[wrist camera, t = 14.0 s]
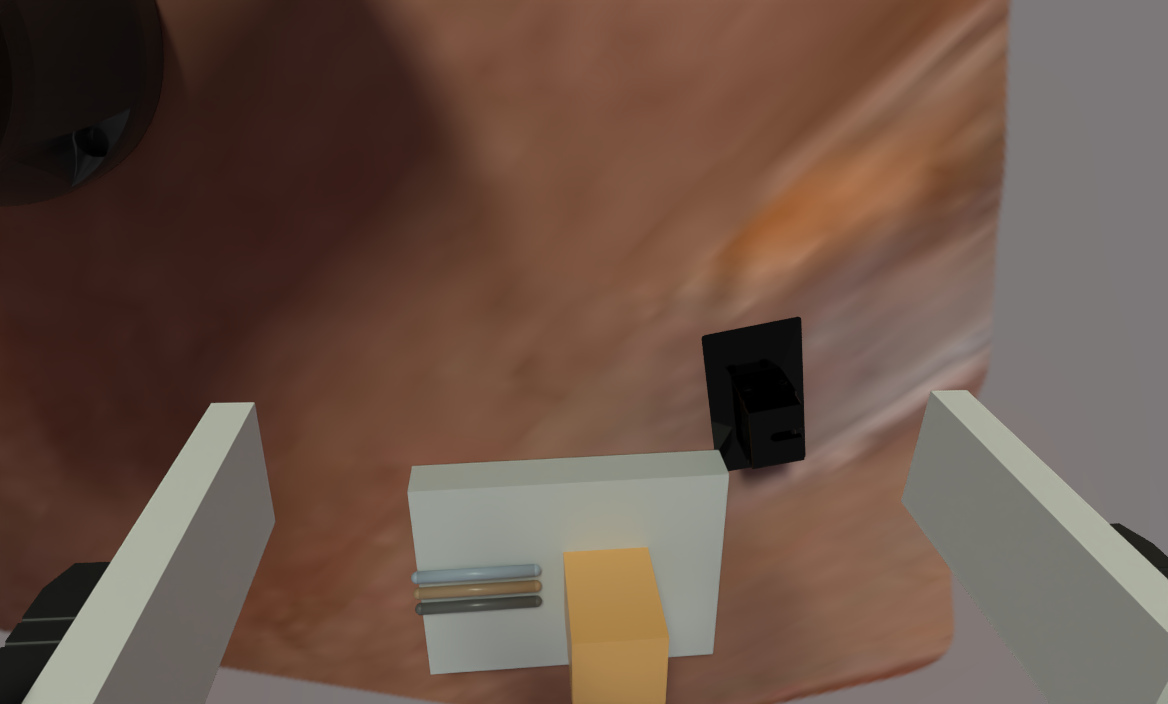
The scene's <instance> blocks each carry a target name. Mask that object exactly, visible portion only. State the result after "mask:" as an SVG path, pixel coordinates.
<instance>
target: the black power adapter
mask: <svg viewBox="0 0 1168 704" xmlns="http://www.w3.org/2000/svg"><path fill="white" fill-rule="evenodd" d="M702 346H703V355H704V364H705V372H706V381H707V390H708V399H709V407H710V416H711V425H712V433H713V442H714V450H719V452H720V454H721V457H722V459H723V461H724V464H725V466H726V468H727V471H732V470H738V469H743V468H749V467H752V469H757V468H763V467H768V466H773V465H779V464H784V463H790V462H795V461H801V460H804V457H805V426H804V394H803V362H802V329H801V318H800V317H794V318H789V319H784V320H779V321H774V322H769V323H764V324H759V325H754V326H749V327H744V328H739V329H734V330H729V331H724V332H719V333H714V334H709V335H704V336H703V337H702Z"/></svg>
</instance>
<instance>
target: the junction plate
mask: <svg viewBox="0 0 1168 704" xmlns="http://www.w3.org/2000/svg"><path fill="white" fill-rule="evenodd" d="M728 480H729V473H728V471H727V468H726V466H725V464H724V461H723V459H722V457H721V454H720V452H719V450H708V451H689V452H670V453H651V454H632V455H613V456H594V457H575V458H556V459H537V460H519V461H500V462H481V463H462V464H443V465H424V466H412V471H411V476H410V481H409V487H408V500H409V508H410V515H411V523H412V531H413V539H414V547H415V555H416V562H417V570H418V571H417V572H414V573H413V574H412V576H411V580H412V582H413V583H415V584H419V586H420V587H418V588H416V589H415V590H414V592H413V596H414V598H415V599H418V600H421V602H422V603H419V604H417V605H416V608H415V611H416V613H417V614H418V615H423V617H424V625H425V633H426V641H427V648H428V656H429V664H430V672H431V674H442V673H456V672H470V671H484V670H498V669H512V668H525V667H539V666H553V665H567V664H569V663H568V651H567V640H566V628H565V616H564V563H563V552H574V551H591V550H608V549H625V548H641V547H648V550H649V554H650V558H651V562H652V567H653V571H654V575H655V579H656V583H657V588H658V592H659V596H660V600H661V604H662V609H663V613H664V617H665V621H666V625H667V630H668V634H669V652H668V657H678V656H692V655H706V654H713V646H714V635H715V624H716V613H717V602H718V591H719V580H720V569H721V558H722V546H723V535H724V524H725V513H726V502H727V491H728Z"/></svg>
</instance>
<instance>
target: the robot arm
mask: <svg viewBox="0 0 1168 704" xmlns="http://www.w3.org/2000/svg"><path fill="white" fill-rule="evenodd" d="M162 77H163V43H162V35H161V29H160V23H159V18H158V14H157V11H156V7H155V3H154V0H0V206H18V205H25V204H31V203H36V202H41V201H45V200H49V199H53V198H56V197H59V196H62V195H64V194H67V193H69V192H72V191H74V190H76V189H78V188H80V187H82V186H83V185H85V184H87V183H89V182H91V181H93V180H95V179H97V178H99V177H101V176H102V175H104V174H105V173H107V172H109V171H110V170H111V169H113V168H114V167H115V166H117V165H118V164H119V163H120V162H121V161H122V160H124V159H125V158H126V157H127V156H128V155H129V154H130V152H131V151H132V150H133V149H134V148H135V147H136V145H137V144H138V143H139V141H140V140H141V138H142V137H143V135H144V133H145V132H146V130H147V128H148V126H149V124H150V122H151V120H152V118H153V115H154V112H155V110H156V107H157V103H158V100H159V96H160V91H161V86H162ZM901 502H902V503H903V505H904V506H905V507H906V509H907V510H908V511H909V513H910V514H911V516H912V517H913V518H914V520H915V521H916V522H917V524H918V525H919V526H920V528H921V529H922V531H923V532H924V533H925V535H926V536H927V537H928V539H929V540H930V542H931V543H932V544H933V546H934V547H935V548H936V550H937V551H938V552H939V554H940V555H941V557H942V558H943V559H944V561H945V562H946V563H947V565H948V566H949V568H950V569H951V570H952V572H953V573H954V574H955V576H956V577H957V578H958V580H959V581H960V583H961V584H962V585H963V587H964V588H965V589H966V591H967V592H968V594H969V595H970V596H971V598H972V599H973V600H974V602H975V603H976V604H977V606H978V607H979V609H980V610H981V611H982V613H983V614H984V615H985V617H986V618H987V620H988V621H989V622H990V624H991V625H992V626H993V628H994V629H995V630H996V632H997V633H998V635H999V636H1000V637H1001V639H1002V640H1003V641H1004V643H1005V644H1006V646H1007V647H1008V648H1009V650H1010V651H1011V652H1012V654H1013V655H1014V657H1015V658H1016V659H1017V661H1018V662H1019V663H1020V665H1021V666H1022V667H1023V669H1024V670H1025V672H1026V673H1027V674H1028V676H1029V677H1030V678H1031V680H1032V681H1033V682H1034V684H1035V685H1036V687H1037V688H1038V689H1039V691H1040V692H1041V693H1042V695H1043V696H1044V698H1045V699H1046V700H1047V702H1048V703H1049V704H1168V557H1167V556H1166V555H1165V554H1164V553H1163V552H1162V551H1161V550H1160V549H1158V548H1157V547H1156V546H1155V545H1154V544H1153V543H1151V542H1149V541H1148V540H1146V539H1145V538H1143V537H1141V536H1140V535H1138V534H1136V533H1134V532H1133V531H1131V530H1129V529H1128V528H1126V527H1124V526H1123V525H1121V524H1119V523H1118V524H1109V523H1107V522H1106V521H1105V520H1104V519H1103V518H1102V517H1101V516H1100V515H1099V514H1098V513H1097V512H1096V511H1095V510H1094V509H1093V508H1091V507H1090V506H1089V505H1088V504H1087V503H1086V502H1085V501H1084V500H1083V499H1082V498H1081V497H1080V496H1079V495H1077V493H1075V492H1074V491H1073V490H1072V489H1071V488H1070V487H1069V486H1068V485H1067V484H1066V483H1065V482H1064V481H1063V480H1062V479H1061V478H1060V477H1059V476H1057V475H1056V474H1055V473H1054V472H1053V471H1052V470H1051V469H1050V468H1049V467H1048V466H1047V465H1046V464H1045V463H1044V462H1043V461H1042V460H1040V459H1039V458H1038V457H1037V456H1036V455H1035V454H1034V453H1033V452H1032V451H1031V450H1030V449H1029V448H1028V447H1027V446H1025V444H1023V443H1022V442H1021V441H1020V440H1019V439H1018V438H1017V437H1016V436H1015V435H1014V434H1013V433H1012V432H1011V431H1010V430H1009V429H1007V428H1006V427H1005V426H1004V425H1003V424H1002V423H1001V422H1000V421H999V420H998V419H997V418H996V417H995V416H994V415H993V414H991V413H990V412H989V411H988V410H987V409H986V408H985V407H984V406H983V405H982V404H981V403H980V402H979V401H978V400H977V399H976V398H975V397H973V396H972V395H971V394H970V393H969V392H968V391H967V390H951V391H931V392H930V396H929V400H928V403H927V407H926V411H925V415H924V418H923V422H922V426H921V429H920V433H919V437H918V441H917V444H916V448H915V452H914V456H913V459H912V463H911V467H910V470H909V474H908V478H907V482H906V485H905V489H904V493H903V497H902V500H901ZM274 524H275V516H274V511H273V505H272V499H271V494H270V488H269V482H268V476H267V471H266V465H265V459H264V453H263V448H262V442H261V436H260V430H259V425H258V419H257V413H256V408H255V402H246V403H211V404H210V406H209V407H208V409H207V411H206V412H205V414H204V415H203V417H202V419H201V420H200V422H199V423H198V425H197V426H196V428H195V430H194V431H193V433H192V434H191V436H190V438H189V439H188V441H187V442H186V444H185V445H184V447H183V449H182V450H181V452H180V453H179V455H178V457H177V458H176V460H175V461H174V463H173V464H172V466H171V468H170V469H169V471H168V472H167V474H166V476H165V477H164V479H163V480H162V482H161V484H160V485H159V487H158V488H157V490H156V491H155V493H154V495H153V496H152V498H151V499H150V501H149V503H148V504H147V506H146V507H145V509H144V510H143V512H142V514H141V515H140V517H139V518H138V520H137V522H136V523H135V525H134V526H133V528H132V529H131V531H130V533H129V534H128V536H127V537H126V539H125V541H124V542H123V544H122V545H121V547H120V548H119V550H118V552H117V553H116V555H115V556H114V558H113V560H112V561H111V562H96V563H75V564H74V565H72V566H71V567H70V568H68V569H67V570H66V571H65V572H63V573H62V574H61V575H60V576H58V577H57V578H56V579H54V580H53V581H52V582H51V583H49V584H48V585H47V586H46V587H44V588H43V589H42V590H41V592H40V593H39V595H38V596H37V597H36V599H35V600H34V602H33V603H32V604H31V606H30V607H29V609H28V610H27V612H26V613H25V614H24V616H23V617H22V619H23V620H22V623H18V624H17V626H16V627H15V628H14V630H13V631H12V633H11V634H10V635H9V637H8V638H7V640H6V641H5V642H6V644H5V647H1V648H0V704H204V703H205V701H206V698H207V696H208V693H209V691H210V688H211V685H212V683H213V681H214V678H215V675H216V673H217V670H218V668H219V665H220V663H221V660H222V657H223V655H224V652H225V650H226V647H227V645H228V642H229V639H230V637H231V634H232V632H233V629H234V627H235V624H236V621H237V619H238V616H239V614H240V611H241V609H242V606H243V603H244V601H245V598H246V596H247V593H248V591H249V588H250V585H251V583H252V580H253V578H254V575H255V573H256V570H257V567H258V565H259V562H260V560H261V557H262V555H263V552H264V549H265V547H266V544H267V542H268V539H269V537H270V534H271V531H272V529H273V526H274Z"/></svg>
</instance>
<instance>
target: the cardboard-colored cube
mask: <svg viewBox="0 0 1168 704" xmlns="http://www.w3.org/2000/svg"><path fill="white" fill-rule="evenodd" d="M563 563H564V616H565V628H566V640H567V651H568V663H569V675H570V687H571V698H572V704H665V702H666V686H667V669H668V652H669V634H668V630H667V625H666V621H665V617H664V613H663V609H662V604H661V600H660V596H659V592H658V588H657V583H656V579H655V575H654V571H653V567H652V562H651V558H650V554H649V550H648V547H641V548H625V549H608V550H591V551H574V552H563Z"/></svg>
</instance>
